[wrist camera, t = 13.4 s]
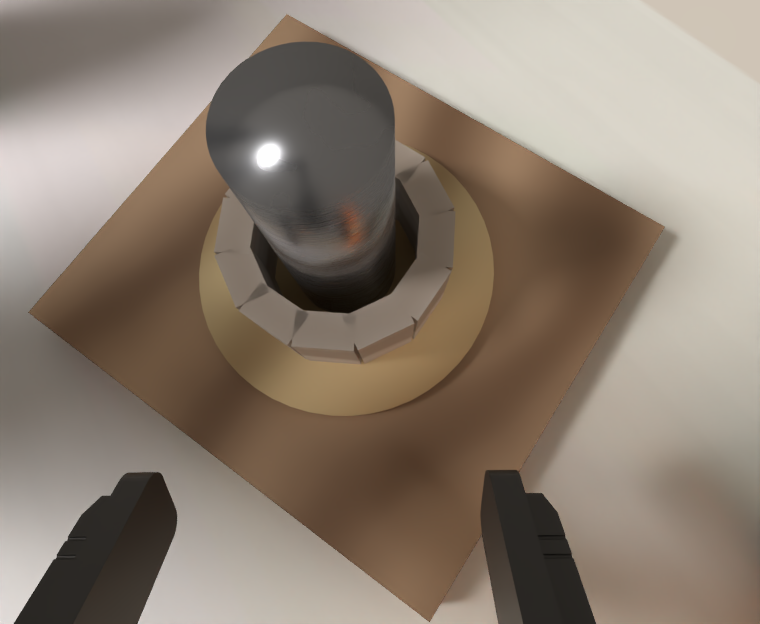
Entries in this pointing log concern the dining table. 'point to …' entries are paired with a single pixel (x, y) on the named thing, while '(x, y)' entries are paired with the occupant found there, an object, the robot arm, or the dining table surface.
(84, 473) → the dining table surface
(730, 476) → the dining table surface
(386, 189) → the grey metal cylinder
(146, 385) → the socket fitting
